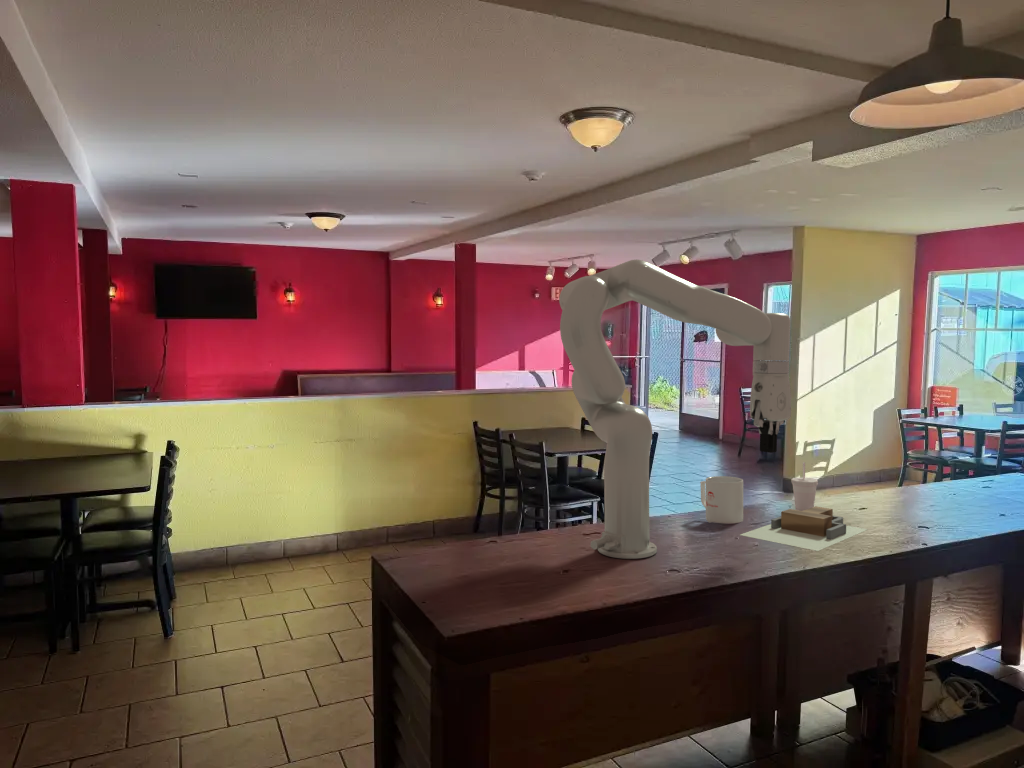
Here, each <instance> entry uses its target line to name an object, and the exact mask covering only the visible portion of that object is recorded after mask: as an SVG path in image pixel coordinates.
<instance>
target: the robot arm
mask: <svg viewBox="0 0 1024 768" xmlns="http://www.w3.org/2000/svg"><path fill="white" fill-rule="evenodd" d="M559 293H560V294H559V298H558V299H559V301H558V302H559V306H560V308H561V310H562V311H561V315H560V324H559V332H560V333H559V334H560V339H561V343H562V346H563V348H564V351H565V353H566V355H567V357H568V359H569V363H570V364H571V366H572V368H573V372H572V375H571V388H572V392H573V394H574V397H575V398H576V400H577V402H578V404H579V406H580V408H581V411H582V412H583V414H584V416H585V418H586V419H587V421H588V424H589V425H590V427H591V429H592V431H593V432H594V434H595V436H597V438H598V439H600V440H601V441H602V442H604V443H606V448H605V455H604V461H603V462H604V463H603V464H604V465H603V473H604V474H603V475H604V476H603V481H604V482H603V483H604V485H603V486H604V493H603V495H604V497H603V498H604V531H602V532H601V537H600V538H596V539H594V540H591V541H590V548H591V549H592V550H597V551H598V552H599V554H601V555H603V556H606V557H611V558H616V559H623V560H635V559H638V560H639V559H645V558H650V557H652V556H654V555H656V554H657V551H658V548H657V545H656V544H655V543H653V542H651V541H650V454H651V446H652V441H653V440H652V439H653V428H652V427H653V426H652V423H651V420H650V418H649V416H648V415H647V413H646V412H645V411H643V410H642V409H641V408H640V407H638V406H635V405H631V404H627V403H626V402H625V401H624V398H623V395H624V393H625V389H626V381H625V377H624V374H623V373H622V370H621V368H620V366H619V365H618V364H617V362H616V360H615V358H614V356H613V354H612V352H611V350H610V349H609V346H608V344H607V342H606V339H605V337H604V334H603V332H602V327H601V326H602V325H601V324H602V322H601V321H602V317H603V314H604V312H605V311H606V310H608V309H612V308H614V307H618V306H619V305H623V304H624V303H627V302H632V301H633V302H636V303H638V304H640V305H642V306H645V307H647V308H649V309H651V310H653V311H656V312H658V313H660V314H662V315H664V316H666V317H668V318H670V319H672V320H674V321H679V322H681V323H686V324H694V325H701V326H705V327H710V328H713V329H715V334H716V337H717V338H718V340H719V341H721V342H722V343H723V344H725V345H727V346H733V347H742V346H751V347H752V346H753V350H752V351H753V355H752V358H753V359H752V360H753V361H752V377H753V378H752V383H751V390H750V391H751V392H750V399H749V400H750V402H749V416H750V418H751V419H752V420H753V426H754V427H757V428H758V433H759V451H760V452H763V453H770V454H772V453H776V452H777V451H778V434H779V430H780V427H781V426H782V425H784V421H788V420H790V418H791V416H792V390H791V382H790V380H791V379H790V346H791V318H790V316H789V315H788V314H787V313H782V312H781V313H780V312H764V311H762V310H761V309H759V308H757V307H755V306H753V305H751V304H750V303H747V302H745V301H743V300H741V299H738V298H736V297H733V296H730V295H728V294H724V293H722V292H718V291H715V290H712V289H709V288H707V287H704V286H701V285H697V284H695V283H692V282H690V281H688V280H685V279H684V278H681V277H679V276H677V275H675V274H673V273H671V272H668V271H667V270H665V269H663V268H661V267H659V266H657V265H655V264H653V263H650V262H648V261H645V260H643V259H631V260H628V261H625V262H623V263H620V264H617V265H616V266H612V267H610V268H608V269H605V270H602V271H600V272H597V273H594V274H591V275H585V276H582V277H579V278H577V279H575V280H572V281H570V282H568V283H567V284H566V285H565V286H564V287H563V288H562V289H561V291H560V292H559Z"/></svg>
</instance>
